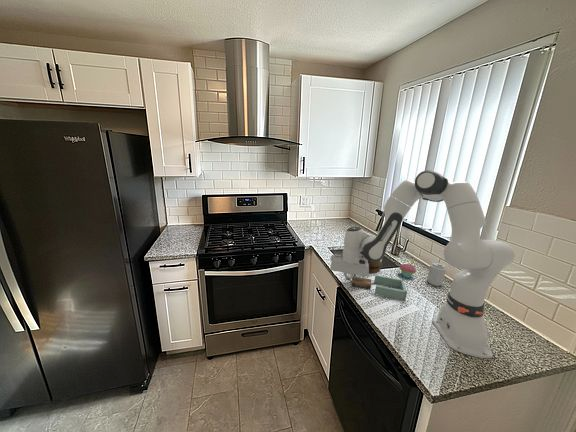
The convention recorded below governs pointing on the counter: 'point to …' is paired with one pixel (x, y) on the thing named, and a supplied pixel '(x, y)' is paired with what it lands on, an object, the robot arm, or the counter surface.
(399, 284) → the tray
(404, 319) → the counter surface
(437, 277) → the grey lidded jar
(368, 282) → the brown block
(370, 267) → the wooden container
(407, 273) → the cupcake
